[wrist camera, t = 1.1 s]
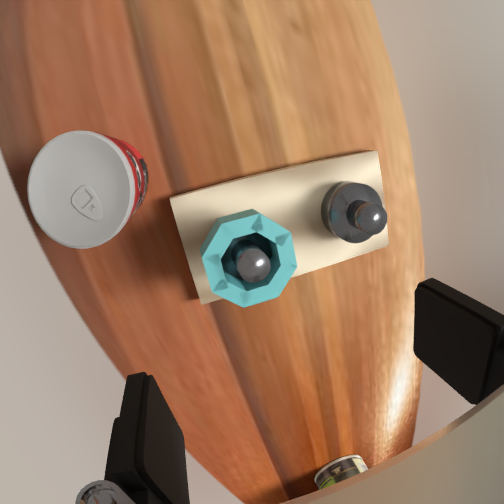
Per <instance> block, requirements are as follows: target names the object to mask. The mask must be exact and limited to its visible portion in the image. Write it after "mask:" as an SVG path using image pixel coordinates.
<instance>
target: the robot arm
mask: <svg viewBox="0 0 504 504" xmlns="http://www.w3.org/2000/svg"><path fill="white" fill-rule="evenodd" d="M413 349H414V353H415V355H416V356H417V357H418V358H419V359H420V360H421V361H422V362H423V363H425V364H426V365H427V366H428V367H429V368H430V369H432V370H433V371H434V372H435V373H436V374H437V375H438V376H440V377H441V378H442V379H443V380H444V381H445V382H447V383H448V384H449V385H450V386H451V387H452V388H453V389H454V390H456V391H457V392H458V393H459V394H460V395H461V396H463V397H464V398H465V399H466V400H467V401H468V402H469V403H471V404H475V405H476V406H475V407H474V408H472V409H471V410H469V411H468V412H466V413H465V414H464V415H462V416H461V417H459V418H458V419H456V420H455V421H453V422H452V423H450V424H449V425H447V426H446V427H444V428H442V429H441V430H439V431H438V432H436V433H435V434H433V435H431V436H430V437H428V438H426V439H425V440H423V441H421V442H420V443H418V444H416V445H414V446H413V447H411V448H409V449H407V450H405V451H404V452H402V453H400V454H398V455H396V456H394V457H392V458H390V459H388V460H387V461H385V462H383V463H381V464H378V465H376V466H374V467H372V468H370V469H368V470H366V471H364V472H362V473H359V474H357V475H355V476H353V477H350V478H348V479H346V480H343V481H341V482H338V483H336V484H334V485H331V486H328V487H326V488H323V489H321V490H318V491H315V492H313V493H310V494H307V495H304V496H301V497H298V498H295V499H292V500H289V501H286V502H282V503H279V504H504V315H502V314H501V313H499V312H497V311H495V310H493V309H491V308H490V307H488V306H486V305H484V304H482V303H480V302H478V301H477V300H475V299H473V298H471V297H469V296H467V295H465V294H463V293H461V292H459V291H457V290H456V289H454V288H452V287H450V286H448V285H446V284H444V283H442V282H440V281H438V280H436V279H434V278H430V279H427V280H425V281H423V282H420V283H419V284H418V286H417V288H416V290H415V317H414V346H413ZM188 492H189V491H188V481H187V470H186V458H185V444H184V436H183V433H182V430H181V428H180V427H179V425H178V423H177V421H176V419H175V418H174V416H173V414H172V412H171V410H170V408H169V406H168V404H167V403H166V401H165V399H164V397H163V395H162V393H161V391H160V389H159V387H158V385H157V383H156V381H155V379H154V377H153V376H152V375H147V374H146V373H145V372H141V373H136V374H132V375H128V376H127V380H126V385H125V390H124V395H123V401H122V406H121V411H120V417H117V418H115V420H114V423H113V428H112V434H111V439H110V445H109V451H108V457H107V464H106V471H105V478H104V480H98V481H95V482H91V483H90V484H88V485H86V486H85V487H84V488H83V489H81V491H80V492H79V494H78V495H77V498H76V504H190V501H189V493H188Z"/></svg>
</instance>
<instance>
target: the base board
mask: <svg viewBox="0 0 504 504" xmlns="http://www.w3.org/2000/svg"><path fill="white" fill-rule="evenodd" d="M343 181H351V182H357V183H362V184H366V185H368V186H370V187H372V188H373V189H374V190H375V191H376V192H377V193H378V195H379V196H380V199H381V202H382V206H383V208H384V209H385V202H384V193H383V186H382V178H381V171H380V165H379V158H378V152H377V151H373V150H369V151H364V152H358V153H353V154H348V155H342V156H337V157H332V158H327V159H322V160H317V161H313V162H308V163H303V164H299V165H294V166H290V167H285V168H281V169H276V170H272V171H268V172H264V173H259V174H255V175H251V176H247V177H243V178H239V179H235V180H231V181H227V182H223V183H220V184H216V185H212V186H208V187H205V188H201V189H197V190H194V191H190V192H187V193H183V194H180V195H176V196H173V197H170V202H171V206H172V210H173V213H174V217H175V220H176V224H177V227H178V231H179V234H180V237H181V241H182V244H183V247H184V251H185V254H186V257H187V261H188V264H189V267H190V270H191V273H192V277H193V280H194V283H195V286H196V289H197V292H198V295H199V298H200V301H201V304H206V303H209V302H212V301H216V300H219V299H223V298H222V297H220V296H218V295H216V294H214V293H212V291H211V287H210V284H209V281H208V277H207V274H206V271H205V267H204V264H203V261H202V257H201V253H200V248H201V246H202V244H203V242H204V241H205V239H206V237H207V235H208V234H209V232H210V230H211V229H212V227H213V225H214V224H215V222H216V220H217V218H220V217H223V216H227V215H230V214H234V213H238V212H241V211H245V210H249V209H254V210H256V211H258V212H259V213H261V214H263V215H264V216H266V217H268V218H269V219H271V220H273V221H274V222H276V223H278V224H279V225H281V226H282V227H284V228H285V229H287V230H288V231H290V232H291V235H292V240H293V246H294V251H295V256H296V262H297V268H296V270H295V271H294V273H293V275H292V276H291V278H292V277H295V276H298V275H301V274H304V273H307V272H310V271H314V270H317V269H320V268H323V267H326V266H329V265H332V264H335V263H338V262H341V261H344V260H347V259H350V258H353V257H356V256H359V255H362V254H365V253H368V252H371V251H374V250H377V249H380V248H383V247H386V246H389V243H388V231H387V223H386V226H385V228H384V229H383V230H382V231H381V232H380V233H379V234H376V235H373V236H372V237H371V238H369V239H368V240H366V241H364V242H361V243H349V242H346V241H344V240H342V239H341V238H339V237H337V236H335V235H333V234H332V233H330V232H329V231H328V230H327V229H326V227H325V226H324V224H323V221H322V217H321V205H322V201H323V198H324V196H325V194H326V193H327V191H328V190H329V189H330V188H331V187H332V186H334V185H335V184H337V183H339V182H343ZM385 211H386V210H385Z"/></svg>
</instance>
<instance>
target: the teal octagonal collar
mask: <svg viewBox="0 0 504 504" xmlns="http://www.w3.org/2000/svg"><path fill="white" fill-rule="evenodd" d="M255 232H257V233H259V234H261V235H263V236H264V237H266V238H268V239H269V243H270V247H271V252H272V258H271V259H270V264H271V267H270V271H269V274H268V275H267V276H266V278H264V279H263V280H261V281H259V282H255V283H251V282H247V281H245V280H239V279H237V278H235V277H233V276H231V275H229V274H227V273H225V272H224V271H223V267H222V263H221V258H222V256H223V255H224V253H225V251H226V250H227V248H228V246H229V245H230V243H231V241H232V240H233V239H234V238H237V237H241V236H244V235H248V234H252V233H255ZM200 253H201V257H202V261H203V264H204V267H205V271H206V274H207V277H208V281H209V284H210V287H211V291H212V293H214V294H216V295H218V296H220V297H222V298H225V299H227V300H229V301H231V302H233V303H235V304H237V305H239V306H241V307H247V306H251V305H254V304H257V303H260V302H264V301H267V300H270V299H273V298H276V297H278V296H279V295H280V293H281V292H282V290H283V289H284V287H285V285H286V284H287V282H288V281H289V279H290V278H291V276H292V275H293V273H294V271H295V270H296V268H297V262H296V256H295V251H294V246H293V240H292V235H291V232H290V231H288V230H287V229H285V228H284V227H282V226H281V225H279V224H278V223H276V222H274V221H273V220H271V219H269V218H268V217H266V216H264V215H263V214H261V213H259V212H258V211H256V210H254V209H249V210H245V211H241V212H238V213H234V214H230V215H227V216H223V217H220V218H217V220H216V222H215V224H214V225H213V227H212V229H211V230H210V232H209V234H208V235H207V237H206V239H205V241H204V242H203V244H202V246H201V248H200Z"/></svg>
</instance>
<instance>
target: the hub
mask: <svg viewBox="0 0 504 504" xmlns="http://www.w3.org/2000/svg"><path fill="white" fill-rule="evenodd" d="M321 217H322V221H323V224H324V226H325V227H326V229H327V230H328V231H329V232H330V233H332V234H333V235H335V236H337V237H339V238H341V239H342V240H344V241H346V242H349V243H361V242H364V241H366V240H368V239H369V238H371V237H372V236H373V235H376V234H379V233H380V232H381V231H382V230H383V229H384V228H385V226H386V223H387V213H386V211H385V209H384V208H383V206H382V202H381V199H380V196H379V195H378V193H377V192H376V191H375V190H374V189H373V188H372V187H370V186H368V185H366V184H362V183H357V182H351V181H343V182H339V183H337V184H335V185H334V186H332V187H331V188H330V189H329V190H328V191H327V193H326V194H325V196H324V198H323V201H322V205H321Z"/></svg>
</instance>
